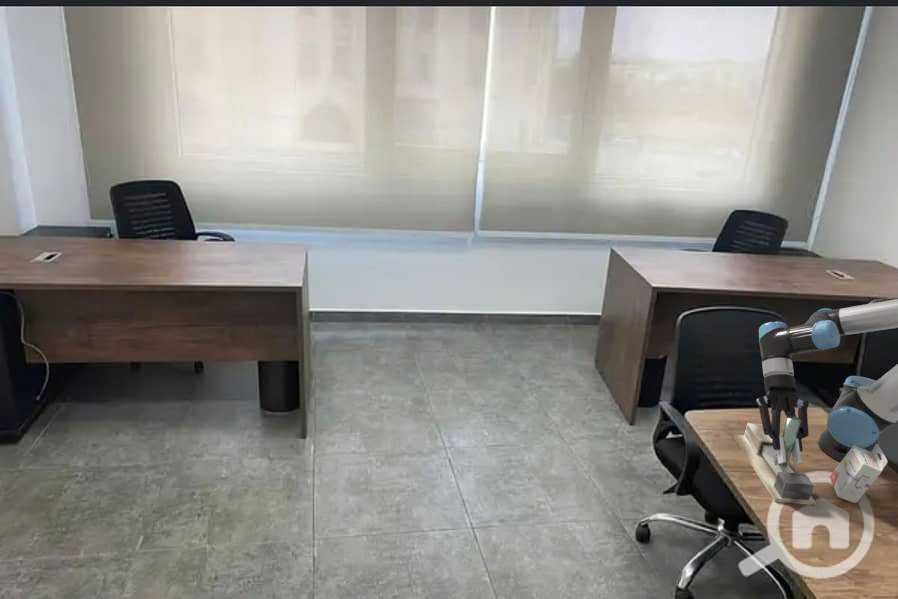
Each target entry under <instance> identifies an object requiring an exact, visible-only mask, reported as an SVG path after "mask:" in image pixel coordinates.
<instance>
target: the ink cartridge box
mask: <svg viewBox="0 0 898 599" xmlns="http://www.w3.org/2000/svg"><path fill="white" fill-rule="evenodd" d="M878 453H879V457H878V455H877V454H878ZM838 463H839V464H838V465H837V466H836V467H835V469H834V470H833V471H832V473H831V474H830V475H829V479H830V481H831V483H832V485H833V489H834V491H835V493H836V495H837V498H839V499H842V500H845V501H848V502H850V503H853V504H857V503H858V502H859V501H860V499H862V496H864V494H865V493H866V492H867V491H868V490H869V488H870V487H871V486H872V485H873V483H874V482H875V481H876V480H877V478H878V477H879V476H880V475H881V474H882V473H883V470H884V469H885V467H886V466H887V464H888V459H887V458H886V456H885V453H884V452H883V450H882V448H881V447H880V444H879V445H878V444H876V445H875V446H874V448H873V450H872V451H871V452H870V451H868V450H865V449H863V448H859V447H857V446H855V445H853V447H852V448H851V449H850V451H849V452H848V453H847V454H846V456H845V457H844V458H843V460H842V461H841V462H840V461H839V462H838Z"/></svg>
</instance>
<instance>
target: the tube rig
mask: <svg viewBox="0 0 898 599" xmlns="http://www.w3.org/2000/svg"><path fill="white" fill-rule="evenodd" d="M733 439H734V441H735V442H736V444H737V445H738V446H739V448H740V450H741V451H742V453H743V455H744V456H745V458H746V459H747V461H748V463H749V464H750V465H751V467H752V468H753V470H754V472H755V473H756V474H757V477H758V478H759V479H760V481H761V482H762V484H763V485H764V487H765V488H766V491H767V492H768V493H769V494H770V497H772V500H773V501H774V502H776V503H777V502H778V503H787V504H796V505H797V504H798V505H806V506H807V505H810V506H816V504H817V502H816V500H815V499H814V497H813V496H812V493H813V490H814V486H815V485H814V483H813V482H812V480H811V479H810V478H809V477H808V475H807V474H806V473H797V472H794V470H793V469H792V468H791V466H790V465H789V464H788V466H789V467H790V468H791V470H792V471H793V472H794V473H787V472H778V474H777V475H776V474H775V473H774V471H773V470H772V468H771V467H770V465H769V464H768V462H767V461H766V460H765V458H764V457H763V455H762V454H761V452H760V447H761V444H762V443H772V444H773V442H772V439H771V438H770V436H768V435H765V434H764V431H763V426H762V423H758V422H757V423H755V422H747V423H746V428H745V431H744V434H736V433H734V434H733Z"/></svg>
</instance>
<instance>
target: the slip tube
mask: <svg viewBox="0 0 898 599" xmlns="http://www.w3.org/2000/svg"><path fill="white" fill-rule="evenodd" d="M800 423H801V420H800V419H799V418H798V416H796V417H794V416H788V417H787V416H786V421H785V425H784V428H783V431H782V434H781V437H783V441H784V449H785V457H786V462H785V463H782V464H778V457H777V450H774V448H773V444H772V443H762V444H761V447H760V452H761V454H762V455H763V457H764V458H765V460H766V461H767V462H768V464H769V465H770V467H771V468H772V470H773V471H774V473H775V474H776V475H777V474H778V472H787V473H795V472H794V470H793V469H792V468H791V466H790V465H789V462H790V458H791V457H792V449H793V446H794V443H795V439H796V436H797V433H798V430H799V426H800ZM788 465H789V466H790V467H789V466H788ZM791 469H792V470H793V471H792V470H791Z"/></svg>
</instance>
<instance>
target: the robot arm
mask: <svg viewBox="0 0 898 599" xmlns="http://www.w3.org/2000/svg"><path fill="white" fill-rule="evenodd" d="M897 328H898V298H897V299H896V298H894V299H889V300H884V301H878V302H872V303H871V302H870V303H866V304H861V305H860V304H859V305H854V306H849V307H844V308H843V307H842V308H836V309H835V308H834V309H831V308H821V309H819V310H817V311H815V312H814V313H812V314H811V315H810V317H809V318H808V320H807V321H806V322H805V323H803V324H800V325H796V326H791V327H788V325H787V323H785V322H782V321H769V322H765V323H763V324H762V325H760V327H759V329H758V338H759V339H758V343H759V347H760V348H759V349H760V356H761V357H760V358H761V365H762V366H761V367H762V373H763V377H764V379H763V383H764V390H765V394H764V396H760V397H758V398H757V399H755V404H757V406H758V409H759V414H760V420H761V424H762V426H763V431H764V434H765V435H768V436H770V438H771V439H772V442H773V448H774V450H777V457H778V464H782V463H785V462H786V457H785V449H784V441H783V437H782V436H781V434H780V433H781V417H782V415H781V414H782V411H783V413H784V415H785V416H786V418H787V417H788V416H794V417H797V418H799V419H800V420H801V423H800V426H799V430H798V433H797V436H796V439H795V443H794V446H793V449H792V452H791V458H792V463H793V464H792V465H793V466H797V465H798V466H799V465H801V464H802V457H801V453H802V452H803V450H804V449H803V448H804V447H803V440H802V439H805V438H807V437H809V422H808V421H809V420H808V408H809V405H810V402H809V401H808V400H805V401H804V400H802V399H800V398H799V396H798V395H797V387H796V379H795V377H794V375H795V372H794V365H793V358H792V356H794V355H799V354H804V353H812V352H818V351H827V350H830V349H834V348H837V347H838V346H840V343H841V337H842V336H843V337H844V336H847V335H855V334H862V333H863V334H864V333H869V332H870V333H871V332H875V331H876V332H878V331H884V330H889V329H890V330H891V329H897ZM768 404H769V405H770V408H771V410H769V407H768ZM795 406H796V408H797V416H796V408H795ZM769 412H771V417H770V413H769ZM897 422H898V363H897V364H896V365H895V366H893V367H892V368H891V369H890V370H889V371H887V372H886V373H884V374H883V375H882V376H881V377H880V378H878V379H877V380H875V379H871V378H868V377H864V376H859V375H850V376H848V377H847V378H846V379H845V381H844V382H843V387H842V390H841V392H840V396H839V397H838V399H837V401H836V402H835V404H834V405H833V407H832V409H831V410H830V411H829V413H828V416H827V420H826V425H827V427H826V428H825V430H824V431H823V432H822V433H821V434H820V436H819V438H818V442H817V445H818V447H819V449H820V450H821V451H822V452H823V453H824V454H826V455H827V456H829V457H830V458H832V459H834V460H836V461H837V462H839V463H840V462H841V461H842V460H843V458H844V457H845V456H846V454H847V453H848V452H849V451H850V449H851V448H852V447H853V445H855V446H857V447H859V448H863V449H865V450H868V451H870V452H871V451H872V450H873V448H874V446H875V445H876V444H878V445H879V446H880V444H879V435H880V434H882V433H883V432H884V431H885V430H888V428H891V426H893V425H894V424H895V423H897ZM877 455H878V457H879V458H880V454H879V453H878V454H877Z"/></svg>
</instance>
